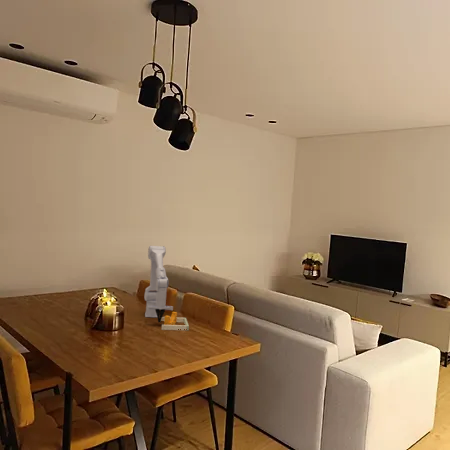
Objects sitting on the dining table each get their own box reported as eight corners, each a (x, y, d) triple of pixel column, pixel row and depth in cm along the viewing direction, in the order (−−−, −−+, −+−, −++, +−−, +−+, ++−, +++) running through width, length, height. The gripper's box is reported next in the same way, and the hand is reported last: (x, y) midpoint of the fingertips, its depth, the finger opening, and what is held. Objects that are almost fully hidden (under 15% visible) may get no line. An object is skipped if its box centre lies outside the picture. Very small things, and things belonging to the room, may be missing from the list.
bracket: (160, 321, 258) (160, 316, 258) (185, 321, 261) (185, 317, 261) (161, 329, 241) (162, 325, 241) (188, 330, 244) (188, 326, 244)
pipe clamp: (170, 328, 246) (171, 317, 245) (163, 327, 247) (164, 316, 247) (179, 323, 257) (179, 312, 257) (172, 322, 258) (173, 311, 258)
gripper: (148, 300, 243) (146, 323, 244) (174, 300, 246) (172, 324, 247) (148, 297, 250) (146, 320, 251) (173, 298, 253) (171, 320, 254)
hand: (159, 322), depth 249 cm, fingers closed
